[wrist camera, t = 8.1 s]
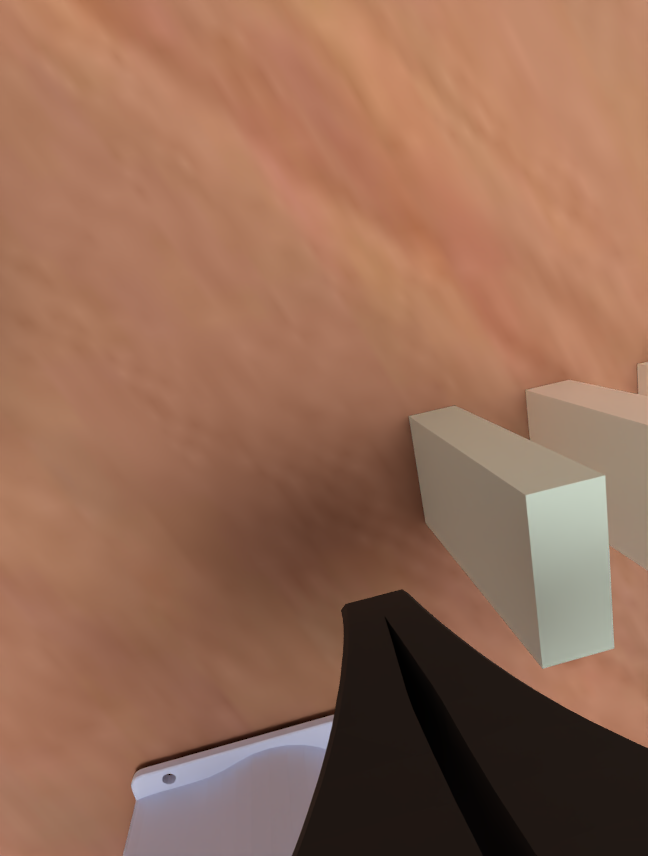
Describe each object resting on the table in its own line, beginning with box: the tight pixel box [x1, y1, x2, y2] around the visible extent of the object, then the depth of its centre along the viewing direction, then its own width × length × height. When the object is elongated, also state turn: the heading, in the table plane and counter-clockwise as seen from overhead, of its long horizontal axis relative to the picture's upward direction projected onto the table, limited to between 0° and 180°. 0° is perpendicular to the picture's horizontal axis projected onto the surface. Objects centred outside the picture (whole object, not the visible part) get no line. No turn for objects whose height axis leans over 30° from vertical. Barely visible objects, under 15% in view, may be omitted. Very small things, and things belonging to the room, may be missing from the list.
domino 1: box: [409, 406, 614, 669], centre depth 15 cm, size 2×4×8 cm, turn 11°
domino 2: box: [525, 380, 648, 570], centre depth 15 cm, size 2×4×8 cm, turn 11°
